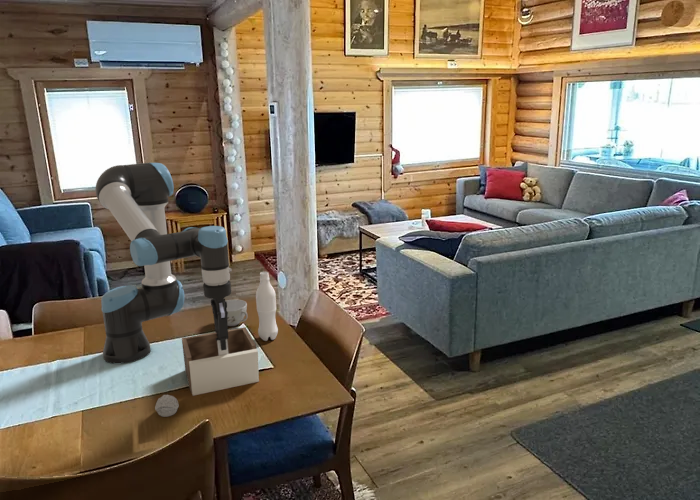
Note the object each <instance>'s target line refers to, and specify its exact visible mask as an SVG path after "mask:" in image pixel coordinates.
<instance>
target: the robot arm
mask: <svg viewBox="0 0 700 500" xmlns="http://www.w3.org/2000/svg"><path fill="white" fill-rule="evenodd" d="M97 178H98V179H97V181H96V183H95V188H94V189H95V195H96V199H97V201H99V204H100V205H101V206H102V207H103V208H104V209H106V210H109V211H110V213H111V215H112V216H113V217H114V219H115V220H116V221H117V223H118V225H119V226H120V227H121V228H122V230H123V231H124V234H126V236H127V237H128V238H129V240H130V244H129V251H130V256H131V259H132V262H133V263H134V264H135V266H138V267H143V266H144V273H145V274H144V275H145V277H143V278H142V280H141V287H139V288H138V287H137V286H135V285H133V284H130V285H129V284H128V285H121V286H117V287H115V288H112V289H110V290H108V291H106V292H105V293H104V294H103V295H102V296H101V301H100V302H101V312H102V317H103V323H104V331H105V339H104V346H103V350H102V355H103V357H102V358H103V360H104V361H105V362H107V363H110V364H114V363H121V364H127V363H133V362H136V361H139V360H141V359H143V358H145V357H147V356H148V355H149V354H150V353H151V349H152V348H151V344H150V342H149V339H148V337H147V335H146V334H145V332H144V329H143V323H144V322H148V321H150V320H155V319H158V318H159V319H160V318H163V317H168V316H171V315H174V314H176V313H179V312H180V311H181V310H182V309H183V307H184V304H185V291H184V289H183V288H184V287H183V284H182V283H181V281H180V280H178V279H177V277H176V276H175V275H174V274H172V269H171V261H177V260H181V259H186V258H191V257H199V258H200V264H201V266H200V267H201V277H202V278H201V279H202V282H203V295H204V297H205V298H207V299H211V300H210V306H211V309H212V315H213V322H214V333H215V332H216V336H217V338H215V339H216V341H217V345H218V355H219V356H220V355H226V354H229V353H228V342H227V339H228V330H229V328H228V327H229V326H228V322H227V315H228V312H227V309H226V308H227V302H226V301H225V300H226V297H228V296H230V295H231V294H232V282H231V280H230V279H231V274H230V273H231V272H232V267H231V268H230V260H229V246H228V244H229V243H228V242H229V240H228V237H227V229H225V227H223V226H222V225H221V226H220V225H209V226H203V227H201V228H200V227H199V228H198V227H193V226H191V227H187V228H185V229H183V230H182V231H179V232H173V233H168V230H167V221H166V213H165V212H166V211H165V210H166V209H165V207H166V206H167V205H169V197H171V196H173V194H174V190H175V189H174V188H175V187H174V186H175V185H174V182H173V181H174V180H173V178H172V175H171V173H170V171H169V169H168V167H167V166H166V165H165V164H163V163H161V162H141V163H132V164H123V165H122V164H121V165H119V164H118V165H113V166H111V167H109V168H107V169H105V171H103V172H102V173H101V174H100V176H99V177H97Z"/></svg>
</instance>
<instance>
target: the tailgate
mask: <svg viewBox="0 0 700 500" xmlns="http://www.w3.org/2000/svg"><path fill="white" fill-rule="evenodd" d="M189 366H190V376H191V387H192V393H191V394H192V396H197V395H203V394H207V393H212V392H216V391H221V390H226V389H231V388H234V387H235V388H236V387H240V386H246V385H248V384H254V383H258V382H260V379H259V378H260V377H259V375H260V373H259V368H260V367H259V351H258V349H257V348H256V349H252V350H247V351H242V352H236V353H231V354H226V355H220V356H215V357H210V358H205V359H199V360H194V361H189Z"/></svg>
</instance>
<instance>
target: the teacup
mask: <svg viewBox="0 0 700 500" xmlns="http://www.w3.org/2000/svg"><path fill="white" fill-rule="evenodd" d="M225 301H226V302H227V308H226V309H227V312H228V315H227V322H228V327H235V326H237V325H239V324H240V323H241V322H246V321H247V319H248V312H247V307H248V303H247V301H245V300H243V299H237V298H235V299H227V300H226V299H225Z"/></svg>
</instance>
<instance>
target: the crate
mask: <svg viewBox="0 0 700 500" xmlns="http://www.w3.org/2000/svg"><path fill="white" fill-rule="evenodd" d="M215 338H217V336H216V332H215V331H214V332H210V333H204V334H199V335H193V336H187V337H186V336H185V337H181V342H182V344H181V345H182V352H183V361H184V362H183V363H184V371H185V375H186V379H187V382H188V387H189V391H190V394H192V387H191V376H190V366H189V361H194V360H199V359H205V358H210V357H215V356H219V355H218V345H217V341H216V339H215ZM227 342H228V353H229V354H231V353H236V352H242V351H247V350H252V349H257V344H256V343H255V341H254V340H253V338H252V336H251V334H250V332H249V331H248V329H247V328H246V327H239V328H234V329H228V339H227Z"/></svg>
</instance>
